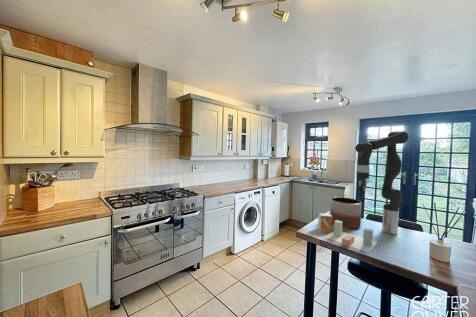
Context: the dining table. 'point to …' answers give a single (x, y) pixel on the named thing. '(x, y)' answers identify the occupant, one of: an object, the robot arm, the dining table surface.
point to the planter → (346, 212)
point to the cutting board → (357, 241)
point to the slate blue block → (367, 237)
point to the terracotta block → (348, 240)
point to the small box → (325, 222)
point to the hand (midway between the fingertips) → (361, 195)
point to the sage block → (338, 228)
